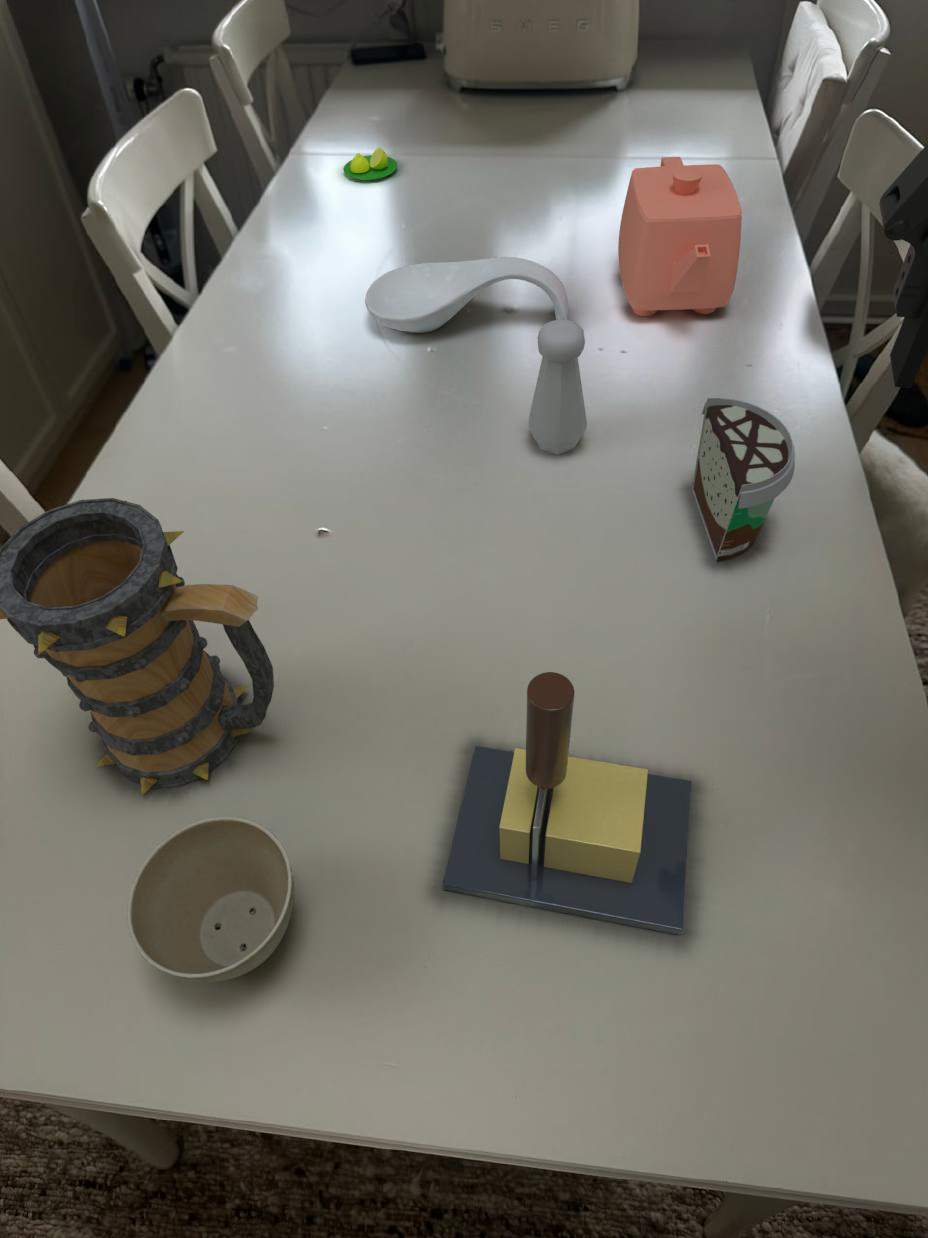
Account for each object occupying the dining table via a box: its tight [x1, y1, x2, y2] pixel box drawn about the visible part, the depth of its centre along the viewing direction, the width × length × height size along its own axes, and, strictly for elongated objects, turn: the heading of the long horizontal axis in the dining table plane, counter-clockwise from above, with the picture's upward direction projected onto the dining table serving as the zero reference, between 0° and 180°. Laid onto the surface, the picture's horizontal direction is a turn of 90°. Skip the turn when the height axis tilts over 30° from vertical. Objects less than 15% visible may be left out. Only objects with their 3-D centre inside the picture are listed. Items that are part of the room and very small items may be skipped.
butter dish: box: [442, 745, 692, 936], centre depth 59 cm, size 16×11×6 cm
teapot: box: [617, 156, 743, 317], centre depth 98 cm, size 22×13×14 cm, turn 0°
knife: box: [525, 671, 575, 880], centre depth 54 cm, size 3×8×17 cm, turn 168°
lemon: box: [343, 147, 398, 181], centre depth 127 cm, size 8×8×3 cm
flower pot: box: [126, 815, 294, 983], centre depth 55 cm, size 10×10×7 cm
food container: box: [691, 397, 796, 563], centre depth 76 cm, size 12×6×10 cm, turn 4°
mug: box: [0, 497, 275, 796], centre depth 60 cm, size 13×17×20 cm
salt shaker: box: [528, 319, 588, 455], centre depth 83 cm, size 6×6×13 cm
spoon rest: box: [364, 256, 569, 334], centre depth 100 cm, size 24×12×7 cm, turn 84°
